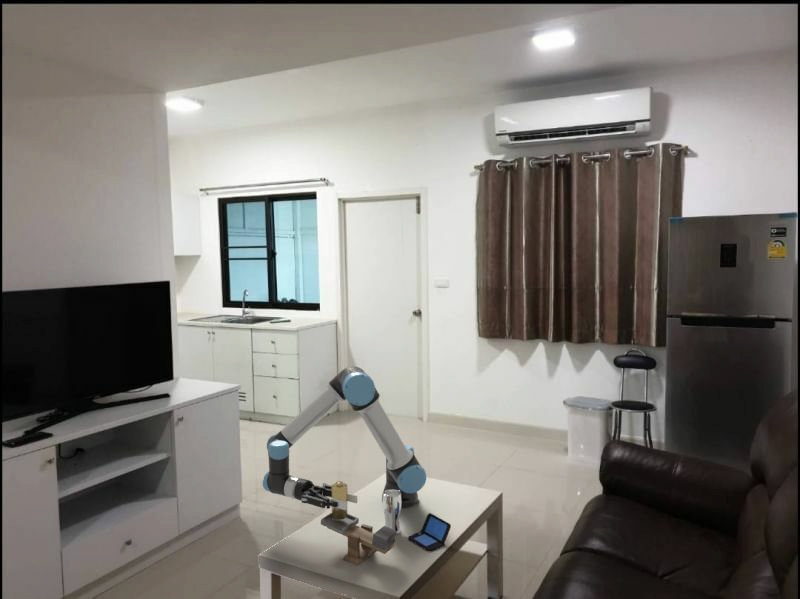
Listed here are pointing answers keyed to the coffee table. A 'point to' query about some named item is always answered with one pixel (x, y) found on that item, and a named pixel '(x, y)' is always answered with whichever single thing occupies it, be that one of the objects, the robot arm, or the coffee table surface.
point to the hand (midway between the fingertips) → (351, 502)
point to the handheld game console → (431, 533)
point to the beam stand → (358, 547)
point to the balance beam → (362, 532)
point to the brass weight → (341, 494)
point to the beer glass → (392, 508)
